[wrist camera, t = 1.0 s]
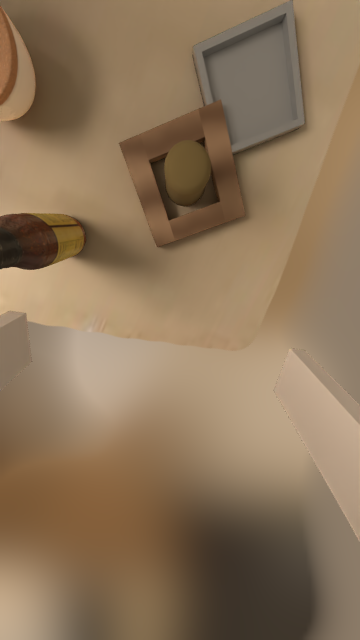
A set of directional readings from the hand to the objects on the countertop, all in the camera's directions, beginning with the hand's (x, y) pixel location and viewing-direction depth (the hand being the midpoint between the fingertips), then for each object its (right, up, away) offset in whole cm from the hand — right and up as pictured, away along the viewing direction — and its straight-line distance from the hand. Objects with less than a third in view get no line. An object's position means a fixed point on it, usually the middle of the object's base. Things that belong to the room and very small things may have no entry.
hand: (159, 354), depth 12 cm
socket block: (+2, +22, +22) cm, 31 cm away
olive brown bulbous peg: (+2, +22, +22) cm, 31 cm away
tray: (+10, +31, +18) cm, 38 cm away
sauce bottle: (-17, +15, +25) cm, 34 cm away
